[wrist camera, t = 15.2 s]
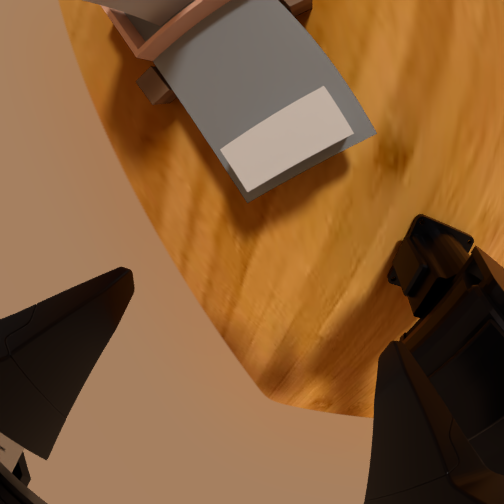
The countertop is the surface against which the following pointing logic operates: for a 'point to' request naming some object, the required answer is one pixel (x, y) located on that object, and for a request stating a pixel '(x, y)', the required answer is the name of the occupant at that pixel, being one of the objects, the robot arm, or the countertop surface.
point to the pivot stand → (161, 91)
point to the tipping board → (251, 87)
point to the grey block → (146, 8)
